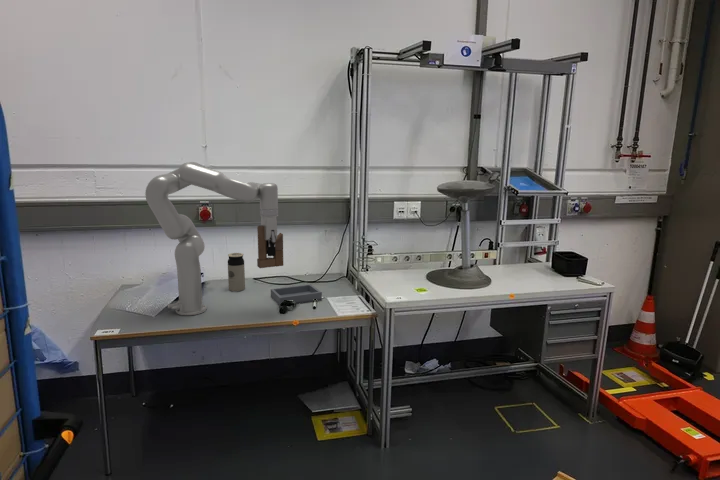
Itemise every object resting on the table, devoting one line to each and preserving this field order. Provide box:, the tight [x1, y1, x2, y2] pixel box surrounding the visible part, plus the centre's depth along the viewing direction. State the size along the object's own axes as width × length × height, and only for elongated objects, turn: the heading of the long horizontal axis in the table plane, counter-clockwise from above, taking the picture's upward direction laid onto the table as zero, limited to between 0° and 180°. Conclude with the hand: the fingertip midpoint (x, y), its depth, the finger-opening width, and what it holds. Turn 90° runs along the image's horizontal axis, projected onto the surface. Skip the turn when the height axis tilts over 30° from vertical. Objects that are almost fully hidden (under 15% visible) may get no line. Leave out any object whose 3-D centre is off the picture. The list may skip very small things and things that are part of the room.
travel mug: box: [227, 252, 246, 292], centre depth 239 cm, size 8×8×18 cm
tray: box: [270, 283, 323, 306], centre depth 228 cm, size 20×14×4 cm
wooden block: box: [256, 224, 284, 269], centre depth 207 cm, size 4×11×18 cm, turn 119°
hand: (270, 254), depth 207 cm, fingers closed on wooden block, 3 cm apart
